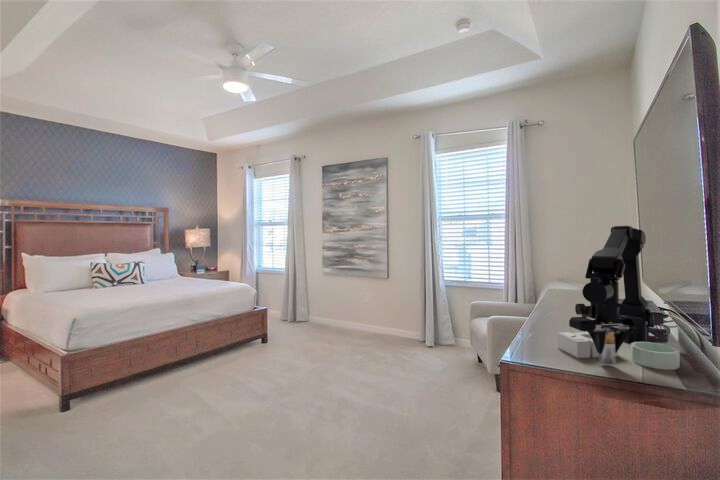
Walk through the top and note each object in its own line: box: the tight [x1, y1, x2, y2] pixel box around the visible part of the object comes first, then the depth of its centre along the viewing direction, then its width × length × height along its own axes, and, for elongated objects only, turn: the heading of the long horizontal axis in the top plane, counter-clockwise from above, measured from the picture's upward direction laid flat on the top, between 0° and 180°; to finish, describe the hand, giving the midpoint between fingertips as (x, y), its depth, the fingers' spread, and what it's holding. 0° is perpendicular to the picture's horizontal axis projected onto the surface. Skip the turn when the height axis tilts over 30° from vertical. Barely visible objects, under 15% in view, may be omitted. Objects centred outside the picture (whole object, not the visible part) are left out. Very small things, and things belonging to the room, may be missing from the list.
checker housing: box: [556, 331, 619, 359], centre depth 113 cm, size 10×14×5 cm
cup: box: [630, 341, 681, 371], centre depth 103 cm, size 11×11×4 cm
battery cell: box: [598, 327, 617, 365], centre depth 101 cm, size 4×4×10 cm
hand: (606, 352), depth 101 cm, fingers closed on battery cell, 4 cm apart
